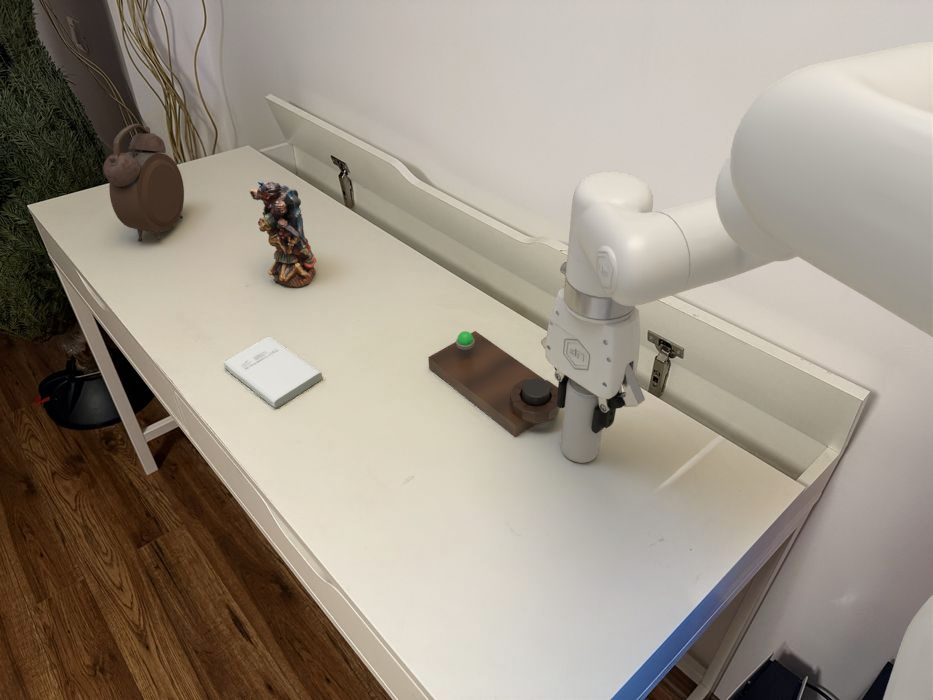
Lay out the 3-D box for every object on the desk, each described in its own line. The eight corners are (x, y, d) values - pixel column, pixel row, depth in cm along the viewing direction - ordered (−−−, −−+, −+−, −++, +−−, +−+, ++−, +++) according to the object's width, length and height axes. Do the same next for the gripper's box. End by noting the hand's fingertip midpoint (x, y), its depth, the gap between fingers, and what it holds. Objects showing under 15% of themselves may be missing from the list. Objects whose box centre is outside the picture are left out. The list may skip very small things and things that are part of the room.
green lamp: (478, 345, 99) (478, 333, 97) (464, 353, 97) (464, 341, 96) (466, 336, 100) (466, 324, 99) (452, 344, 99) (452, 332, 98)
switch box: (575, 413, 93) (577, 391, 91) (527, 446, 89) (528, 425, 86) (475, 341, 105) (475, 321, 103) (428, 368, 101) (427, 347, 98)
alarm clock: (162, 210, 138) (129, 111, 125) (196, 213, 137) (165, 113, 124) (120, 248, 127) (79, 144, 114) (156, 252, 126) (119, 147, 113)
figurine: (248, 291, 116) (222, 194, 105) (268, 262, 123) (246, 167, 111) (310, 297, 115) (290, 198, 103) (327, 266, 122) (310, 171, 110)
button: (555, 397, 91) (556, 388, 90) (535, 411, 89) (536, 401, 88) (535, 383, 93) (536, 374, 92) (516, 396, 91) (516, 386, 90)
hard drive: (275, 410, 95) (225, 369, 101) (323, 379, 99) (272, 342, 106) (273, 401, 94) (222, 361, 100) (321, 371, 98) (269, 334, 105)
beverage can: (600, 465, 87) (612, 396, 79) (562, 465, 87) (569, 396, 79) (595, 436, 90) (606, 367, 82) (558, 436, 90) (565, 367, 83)
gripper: (517, 271, 76) (513, 392, 87) (643, 345, 66) (619, 471, 77) (564, 246, 79) (554, 366, 91) (690, 313, 69) (660, 437, 81)
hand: (584, 413), depth 84 cm, fingers closed on beverage can, 4 cm apart
